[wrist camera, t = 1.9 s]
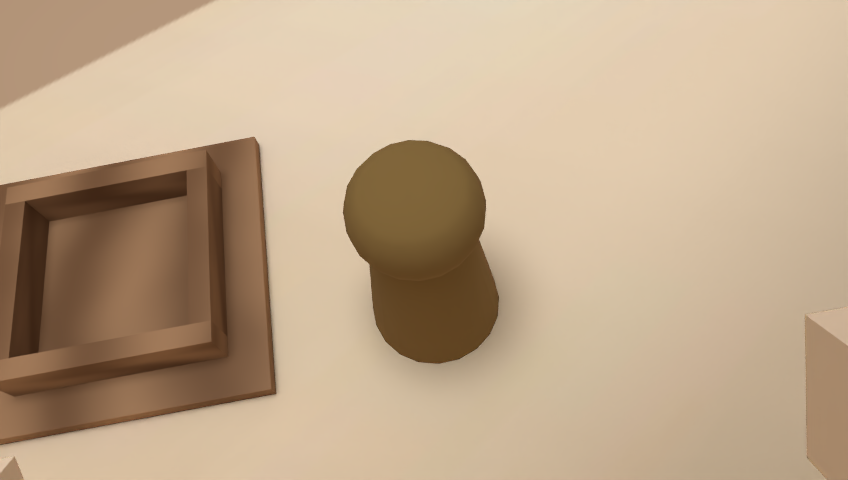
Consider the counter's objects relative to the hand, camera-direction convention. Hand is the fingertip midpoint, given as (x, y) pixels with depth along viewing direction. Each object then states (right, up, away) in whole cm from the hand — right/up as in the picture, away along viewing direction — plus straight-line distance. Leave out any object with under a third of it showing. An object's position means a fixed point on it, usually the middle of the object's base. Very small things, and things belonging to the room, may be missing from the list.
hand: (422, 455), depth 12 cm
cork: (+1, +1, +23) cm, 23 cm away
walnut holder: (-17, +1, +25) cm, 30 cm away
